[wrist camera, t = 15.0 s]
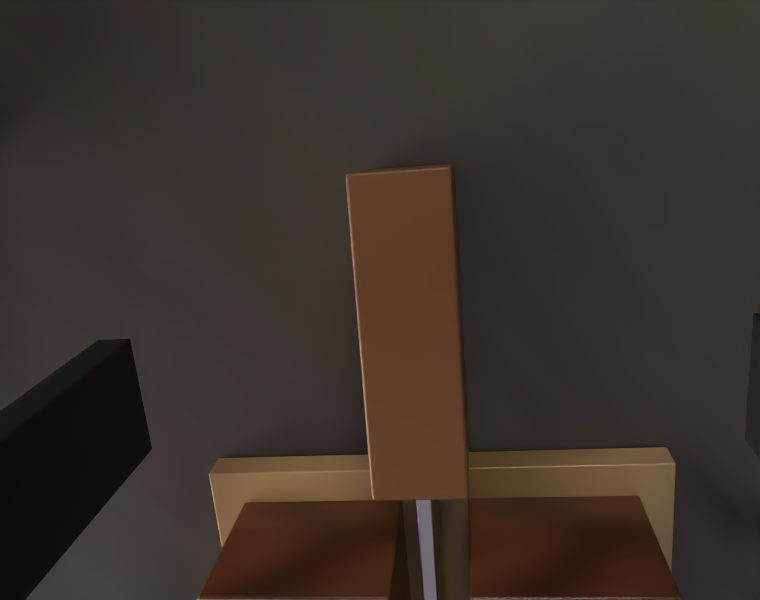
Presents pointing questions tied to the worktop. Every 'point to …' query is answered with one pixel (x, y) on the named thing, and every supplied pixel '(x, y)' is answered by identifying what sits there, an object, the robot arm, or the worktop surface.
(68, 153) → the worktop surface
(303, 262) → the worktop surface
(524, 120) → the worktop surface
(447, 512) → the cake
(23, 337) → the worktop surface
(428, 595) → the knife
